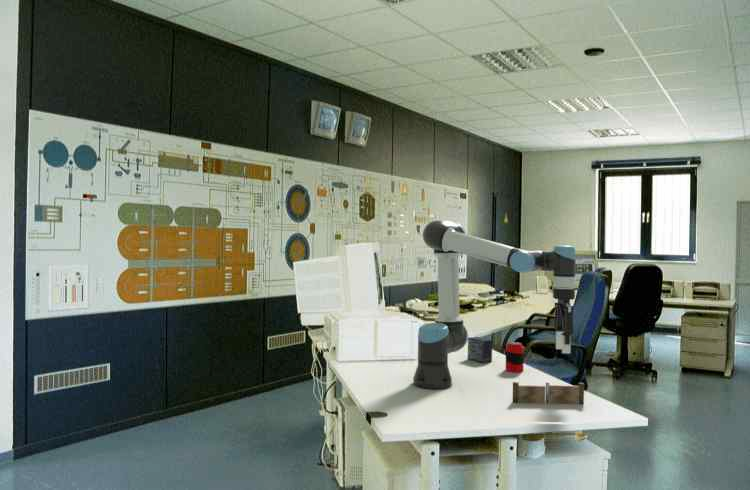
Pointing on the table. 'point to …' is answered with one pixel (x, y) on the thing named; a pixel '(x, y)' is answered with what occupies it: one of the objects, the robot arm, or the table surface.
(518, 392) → the fence fixed
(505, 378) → the table surface
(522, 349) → the soda can
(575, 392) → the fence gate
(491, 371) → the table surface
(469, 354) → the small box
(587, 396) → the table surface
